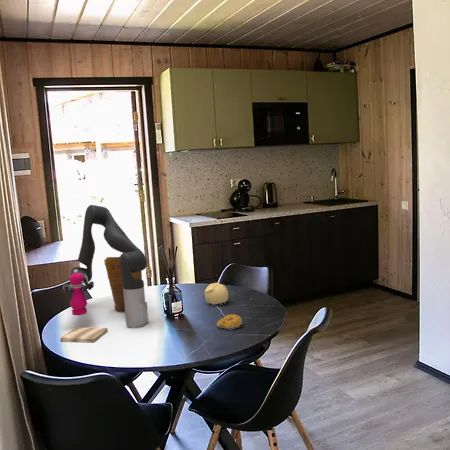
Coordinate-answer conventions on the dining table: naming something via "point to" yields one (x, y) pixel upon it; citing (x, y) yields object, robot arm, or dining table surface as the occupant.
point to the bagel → (230, 321)
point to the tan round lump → (216, 293)
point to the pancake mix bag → (117, 281)
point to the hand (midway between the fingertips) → (77, 290)
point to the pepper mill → (77, 294)
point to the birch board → (84, 334)
